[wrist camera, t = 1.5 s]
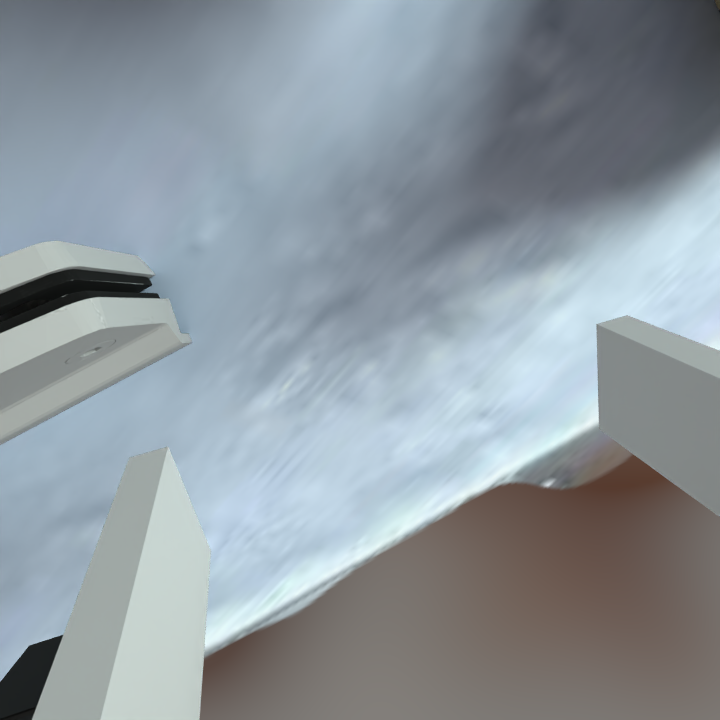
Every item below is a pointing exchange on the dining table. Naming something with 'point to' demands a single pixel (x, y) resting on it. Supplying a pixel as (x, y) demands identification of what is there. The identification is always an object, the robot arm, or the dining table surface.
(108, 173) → the dining table surface
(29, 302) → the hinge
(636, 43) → the dining table surface
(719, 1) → the ceramic jug
